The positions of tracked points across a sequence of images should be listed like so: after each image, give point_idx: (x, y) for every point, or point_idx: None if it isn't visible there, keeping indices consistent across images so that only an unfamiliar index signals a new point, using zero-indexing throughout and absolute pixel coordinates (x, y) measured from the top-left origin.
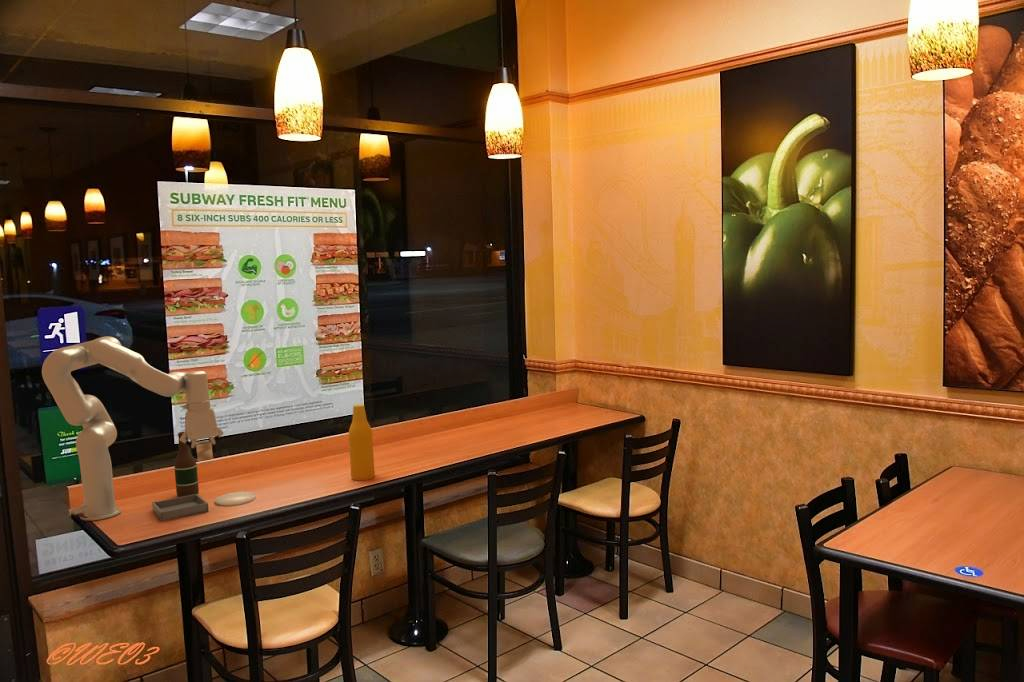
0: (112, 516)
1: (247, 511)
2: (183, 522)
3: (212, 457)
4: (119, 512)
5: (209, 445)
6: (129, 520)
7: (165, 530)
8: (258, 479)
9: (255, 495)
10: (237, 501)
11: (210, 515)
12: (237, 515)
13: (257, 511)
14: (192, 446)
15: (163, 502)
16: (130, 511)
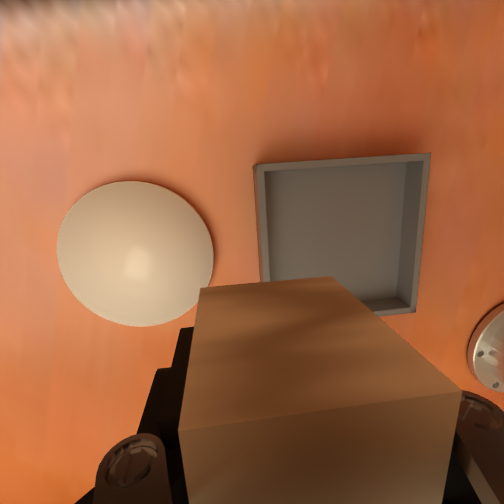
0: (501, 304)
1: (115, 53)
2: (355, 83)
3: (204, 292)
4: (479, 326)
5: (223, 378)
6: (476, 238)
7: (430, 20)
8: (36, 460)
9: (58, 235)
10: (137, 193)
11: (256, 106)
12: (161, 21)
13: (73, 18)
14: (477, 415)
15: (378, 307)
16: (446, 332)
